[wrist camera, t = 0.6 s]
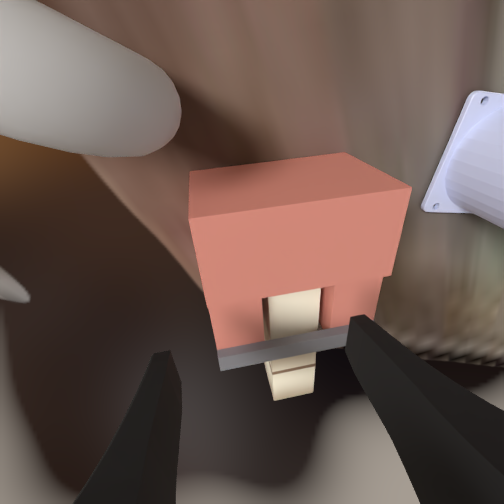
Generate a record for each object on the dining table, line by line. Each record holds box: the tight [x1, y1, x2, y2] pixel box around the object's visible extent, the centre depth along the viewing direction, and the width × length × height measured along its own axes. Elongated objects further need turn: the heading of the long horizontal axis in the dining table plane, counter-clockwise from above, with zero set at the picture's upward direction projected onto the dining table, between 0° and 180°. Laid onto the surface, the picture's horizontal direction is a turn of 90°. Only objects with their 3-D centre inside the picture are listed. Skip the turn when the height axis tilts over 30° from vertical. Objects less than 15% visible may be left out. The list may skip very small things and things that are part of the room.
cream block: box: [262, 288, 321, 401], centre depth 22 cm, size 12×3×6 cm, turn 4°
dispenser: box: [188, 152, 412, 371], centre depth 18 cm, size 10×10×7 cm
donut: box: [0, 0, 182, 157], centre depth 10 cm, size 10×3×10 cm, turn 64°
